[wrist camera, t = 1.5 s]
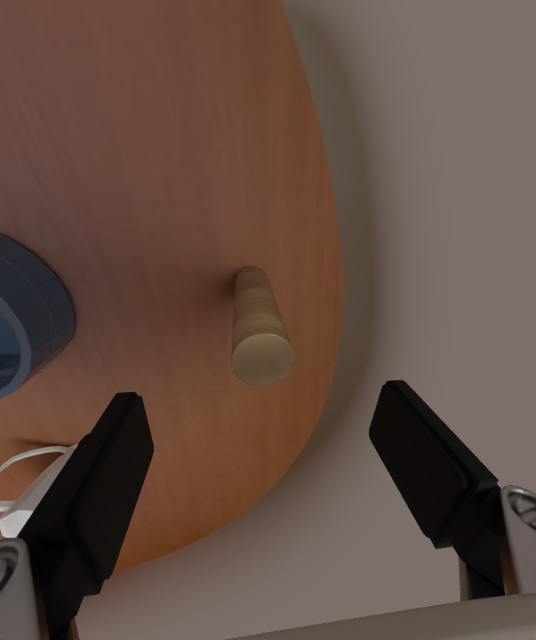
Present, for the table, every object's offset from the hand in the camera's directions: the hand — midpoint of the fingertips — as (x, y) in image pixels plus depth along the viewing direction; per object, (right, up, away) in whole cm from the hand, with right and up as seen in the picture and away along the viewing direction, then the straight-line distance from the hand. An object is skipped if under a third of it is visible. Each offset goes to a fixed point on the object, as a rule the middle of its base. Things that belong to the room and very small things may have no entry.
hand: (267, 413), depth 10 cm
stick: (-2, +7, +14) cm, 16 cm away
